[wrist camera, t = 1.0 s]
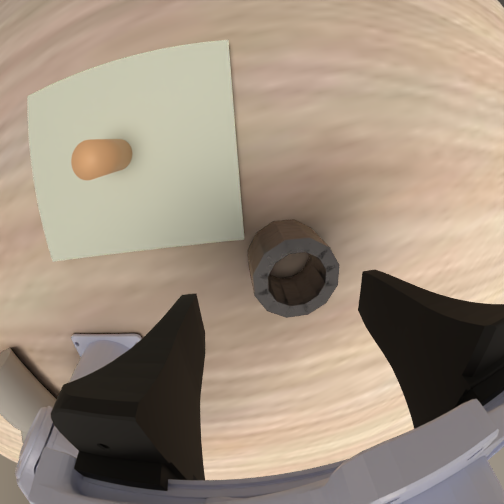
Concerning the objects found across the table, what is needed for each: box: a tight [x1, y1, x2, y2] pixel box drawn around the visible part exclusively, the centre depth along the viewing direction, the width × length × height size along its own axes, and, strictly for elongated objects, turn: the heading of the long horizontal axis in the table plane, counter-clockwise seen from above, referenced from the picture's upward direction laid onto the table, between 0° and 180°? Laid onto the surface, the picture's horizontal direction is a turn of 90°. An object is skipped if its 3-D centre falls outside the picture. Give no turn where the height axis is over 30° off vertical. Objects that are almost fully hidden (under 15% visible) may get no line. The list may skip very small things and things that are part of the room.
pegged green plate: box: [28, 40, 244, 261], centre depth 14 cm, size 14×16×6 cm
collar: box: [248, 220, 339, 317], centre depth 19 cm, size 6×6×4 cm
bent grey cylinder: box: [0, 348, 57, 443], centre depth 23 cm, size 18×10×20 cm
